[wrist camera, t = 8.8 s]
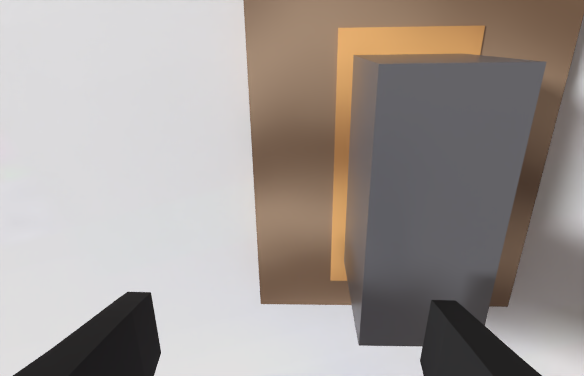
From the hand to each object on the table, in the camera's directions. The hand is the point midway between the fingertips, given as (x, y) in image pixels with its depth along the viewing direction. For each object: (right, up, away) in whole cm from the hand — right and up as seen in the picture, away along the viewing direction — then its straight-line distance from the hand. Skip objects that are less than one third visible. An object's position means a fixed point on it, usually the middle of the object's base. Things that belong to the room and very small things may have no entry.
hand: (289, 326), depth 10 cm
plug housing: (+4, +4, +6) cm, 8 cm away
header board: (+4, +5, +7) cm, 10 cm away
